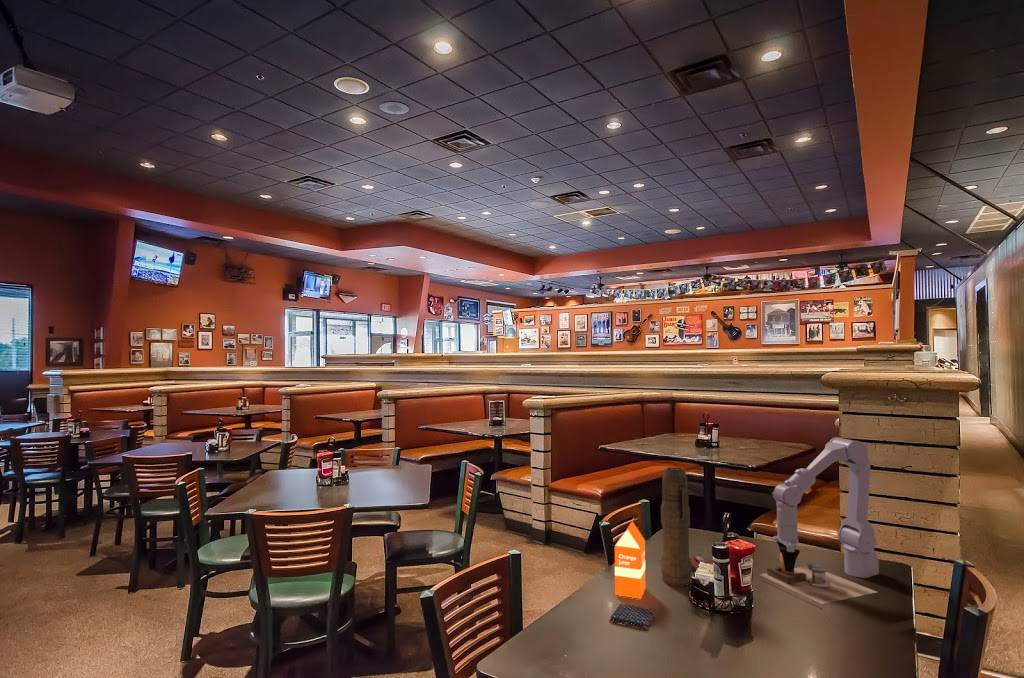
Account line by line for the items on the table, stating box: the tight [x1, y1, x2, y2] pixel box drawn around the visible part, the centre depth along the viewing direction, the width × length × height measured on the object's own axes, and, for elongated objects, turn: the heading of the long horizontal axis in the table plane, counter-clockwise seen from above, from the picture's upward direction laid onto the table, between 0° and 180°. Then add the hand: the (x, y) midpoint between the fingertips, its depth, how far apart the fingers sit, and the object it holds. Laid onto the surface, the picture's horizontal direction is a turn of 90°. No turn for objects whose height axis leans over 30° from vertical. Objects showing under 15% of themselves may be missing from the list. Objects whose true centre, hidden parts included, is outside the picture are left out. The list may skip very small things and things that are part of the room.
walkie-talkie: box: [690, 554, 707, 574], centre depth 188 cm, size 9×4×20 cm
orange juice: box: [614, 520, 646, 600], centre depth 170 cm, size 8×9×20 cm
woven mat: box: [608, 603, 656, 631], centre depth 152 cm, size 10×11×2 cm
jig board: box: [759, 565, 878, 610], centre depth 172 cm, size 22×23×2 cm
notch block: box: [766, 565, 806, 584], centre depth 176 cm, size 8×8×2 cm
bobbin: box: [806, 561, 831, 588], centre depth 171 cm, size 6×6×6 cm
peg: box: [779, 552, 794, 575], centre depth 176 cm, size 4×4×7 cm
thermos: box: [660, 466, 692, 587], centre depth 178 cm, size 9×12×35 cm
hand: (788, 567), depth 176 cm, fingers open, 5 cm apart
